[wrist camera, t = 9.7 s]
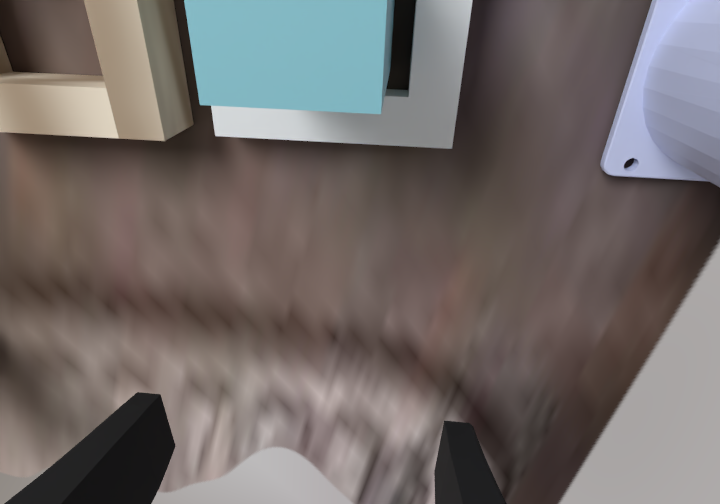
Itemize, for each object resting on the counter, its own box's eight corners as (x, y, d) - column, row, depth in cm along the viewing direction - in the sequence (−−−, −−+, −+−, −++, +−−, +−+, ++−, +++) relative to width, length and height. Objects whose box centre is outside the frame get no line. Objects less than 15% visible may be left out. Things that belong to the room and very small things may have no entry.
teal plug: (398, -64, 14) (393, -130, 7) (390, 67, 16) (380, 114, 9) (279, -67, 14) (164, -133, 7) (285, 62, 16) (199, 105, 9)
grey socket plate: (488, -166, 13) (498, -185, 11) (448, 137, 17) (451, 148, 16) (193, -169, 13) (169, -188, 12) (229, 126, 18) (215, 136, 16)
